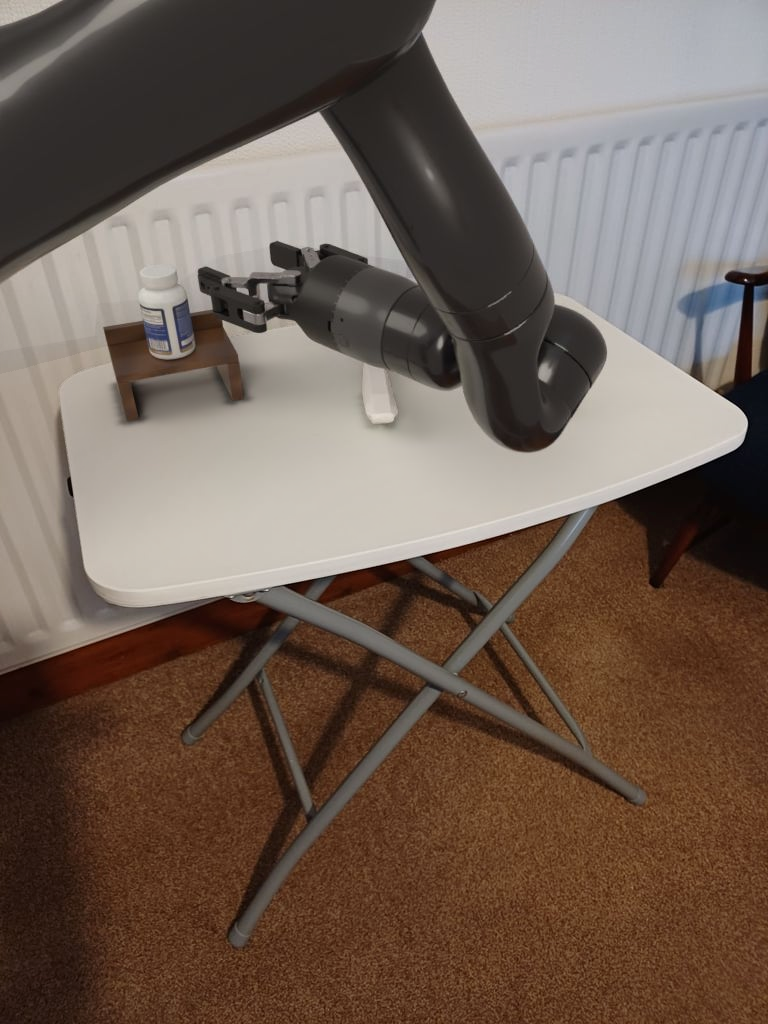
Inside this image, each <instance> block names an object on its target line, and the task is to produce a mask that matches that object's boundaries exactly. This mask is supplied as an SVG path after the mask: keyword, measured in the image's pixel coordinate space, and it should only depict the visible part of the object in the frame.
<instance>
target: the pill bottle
mask: <svg viewBox="0 0 768 1024" xmlns="http://www.w3.org/2000/svg"><path fill="white" fill-rule="evenodd" d="M139 277H140V283H141V286H142V288H141V289H140V290H139V292H138V294H137V295H138V296H137V298H138V304H139V309H140V314H141V318H142V319H141V320H142V321H143V323H144V328H145V332H146V337H147V342H148V346H149V350H150V353H151V354H152V355H153V356H154V357H156V358H159V359H178V358H182V357H185V356H187V355H189V354H191V353H192V352H193V351H194V349H195V339H194V333H193V327H192V321H191V316H190V313H191V310H190V305H189V298H188V293H187V290H186V288H185V287H184V286H183V285H181V284H180V283H178V282H179V276H178V271H177V268H176V267H175V266H174V265H172V264H167V263H156V264H150V265H147V266H145V267H143V268H142V269H141V270H140V271H139Z"/></svg>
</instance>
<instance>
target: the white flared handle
mask: <svg viewBox="0 0 768 1024" xmlns="http://www.w3.org/2000/svg"><path fill="white" fill-rule="evenodd" d="M361 394H362V401H363V407H364V410H365V415H366V417H367V418H368V419H369V420H370V422H371V423H372V424H373V425H379V424H380V425H381V424H390V423H393V422H394V420H395V418H396V416H397V415H398V414H399V410H398V406H397V405H398V404H397V402H396V400H395V396H394V392H393V388H392V383H391V381H390V377H389V374H388V370H386V369H382V368H378V367H374V366H371V365H368V364H366V363H363V362H362V378H361Z"/></svg>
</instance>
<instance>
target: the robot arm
mask: <svg viewBox="0 0 768 1024" xmlns="http://www.w3.org/2000/svg"><path fill="white" fill-rule="evenodd" d="M436 3H437V0H60V1H58V2H56V3H54V4H52V5H51V6H49V7H46V8H45V9H43V10H41V11H39V12H36V13H34V14H31V15H28V16H26V17H24V18H21V19H17V20H15V21H12V22H9V23H6V24H3V25H0V285H1V284H2V285H3V284H4V283H6V281H8V280H9V279H11V278H12V277H14V276H15V275H17V274H18V273H19V272H21V271H22V270H24V269H26V268H27V267H29V266H30V265H32V264H34V263H35V262H37V261H38V260H40V259H42V258H44V257H45V256H47V255H48V254H50V253H52V252H53V251H56V250H57V249H58V248H61V247H62V246H64V245H65V244H67V243H69V242H71V241H73V240H74V239H76V238H78V237H80V236H81V235H83V234H85V233H86V232H88V231H90V230H92V229H93V228H94V227H96V226H98V225H99V224H101V223H102V222H103V223H104V221H106V220H107V219H109V218H112V216H114V215H116V214H118V213H119V212H120V211H123V210H124V209H125V208H127V207H128V206H130V205H131V204H133V203H135V202H136V201H137V200H140V199H141V198H143V197H145V196H146V195H147V194H150V193H151V192H152V191H154V190H156V189H158V188H159V187H161V186H163V185H165V184H166V183H169V182H171V181H172V180H175V179H176V178H178V177H180V176H182V175H183V174H185V173H188V172H191V171H193V170H194V169H196V168H198V167H200V166H203V165H205V164H206V163H208V162H211V161H213V160H215V159H217V158H220V157H221V156H224V155H226V154H229V153H231V152H233V151H235V150H237V149H240V148H242V147H244V146H246V145H248V144H251V143H252V142H255V141H257V140H259V139H262V138H264V137H267V136H268V135H271V134H273V133H275V132H278V131H280V130H282V129H284V128H286V127H288V126H290V125H293V124H295V123H298V122H299V121H301V120H304V119H307V118H308V117H310V116H313V115H315V114H318V113H319V114H320V116H321V118H322V119H323V120H324V122H325V123H326V125H327V126H328V128H329V129H330V131H331V132H332V134H333V135H334V136H335V138H336V140H337V141H338V143H339V145H340V146H341V148H342V149H343V151H344V153H345V154H346V156H347V157H348V159H349V161H350V162H351V164H352V166H353V167H354V169H355V172H356V173H357V174H358V176H359V178H360V180H361V182H362V184H363V185H364V187H365V189H366V191H367V192H368V194H369V196H370V198H371V200H372V202H373V204H374V206H375V208H376V209H377V211H378V213H379V214H380V216H381V218H382V221H383V223H384V225H385V226H386V228H387V230H388V232H389V235H390V236H391V238H392V240H393V241H394V243H395V245H396V247H397V249H398V251H399V253H400V255H401V256H402V259H403V261H404V262H405V264H406V265H407V268H408V269H409V271H410V273H411V275H412V276H413V278H414V280H412V279H409V278H408V277H406V276H403V275H401V274H398V273H396V272H393V271H389V270H386V269H383V268H380V267H377V266H374V265H372V264H370V263H369V260H368V257H365V256H363V255H360V254H357V253H355V252H353V251H349V250H346V249H344V248H341V247H340V246H339V247H338V246H336V245H333V244H331V243H322V244H319V246H318V247H319V249H317V250H315V248H313V247H310V246H305V247H302V248H299V247H296V246H293V245H291V244H287V243H285V242H281V241H279V240H275V241H272V242H270V243H269V258H270V262H271V264H272V265H273V266H275V267H277V268H280V269H282V270H283V271H281V272H270V271H269V272H266V271H263V272H262V271H253V272H251V273H250V274H249V276H248V277H244V276H231V275H229V274H227V273H224V272H222V271H219V270H217V269H214V268H211V267H209V266H207V265H206V266H203V267H200V268H198V269H197V281H198V282H197V283H198V287H199V288H198V289H199V291H200V293H202V294H205V295H207V296H209V297H210V300H211V307H212V309H213V310H212V309H211V310H212V312H213V316H214V317H216V318H218V319H221V320H222V321H224V322H227V323H229V324H231V325H234V326H237V327H239V328H242V329H244V330H247V331H250V332H252V333H255V334H264V333H265V332H267V331H268V326H267V322H269V321H270V320H273V319H274V318H277V319H280V320H287V321H291V322H295V323H296V324H297V325H298V326H299V328H300V329H301V331H302V332H303V333H304V335H305V336H306V337H307V338H308V339H310V340H311V341H312V342H314V343H317V344H319V345H320V346H324V347H325V348H328V349H330V350H333V351H335V352H337V353H339V354H342V355H345V356H347V357H349V358H353V359H354V360H355V361H356V360H357V361H359V362H360V363H362V364H363V363H366V364H368V365H371V366H374V367H378V368H382V369H386V370H387V371H390V372H392V373H395V374H398V375H400V376H402V377H405V378H407V379H410V380H412V381H414V382H417V383H418V384H421V385H423V386H426V387H429V388H431V389H433V390H437V391H441V392H450V391H454V390H457V389H459V388H462V392H463V393H462V394H463V396H464V399H465V402H466V405H467V407H468V410H469V412H470V414H471V416H472V418H473V419H474V421H475V423H476V424H477V426H478V427H479V428H480V429H481V430H482V432H483V433H484V434H485V435H486V436H487V438H489V439H490V440H491V441H493V442H494V443H495V444H496V445H498V446H500V447H502V448H504V449H506V450H508V451H511V452H514V453H520V454H532V453H538V452H541V451H543V450H546V449H548V448H550V447H551V446H552V445H553V444H554V443H555V442H557V440H558V439H559V438H560V437H561V436H562V434H564V433H563V432H564V431H565V429H566V428H567V426H568V425H569V423H570V422H571V420H572V418H573V417H574V416H575V414H576V412H577V411H578V410H579V407H580V406H581V404H582V403H583V401H584V400H585V398H586V397H587V395H588V394H589V392H590V390H591V389H592V387H593V386H594V384H595V383H596V381H597V380H598V378H599V377H600V375H601V373H602V371H603V369H604V367H605V365H606V362H607V358H608V347H607V342H606V340H605V338H604V336H603V334H602V332H601V330H600V329H599V328H598V327H597V325H596V324H594V323H593V321H591V320H590V319H589V318H587V317H586V316H585V315H584V314H582V313H581V312H578V311H577V310H575V309H572V308H569V307H566V306H564V305H560V304H556V302H555V293H554V289H553V285H552V283H551V280H550V277H549V274H548V272H547V270H546V268H545V265H544V263H543V261H542V258H541V256H540V255H539V252H538V250H537V247H536V245H535V242H534V240H533V238H532V236H531V234H530V232H529V229H528V227H527V225H526V223H525V221H524V219H523V218H522V215H521V213H520V212H519V209H518V208H517V205H516V204H515V202H514V200H513V198H512V196H511V194H510V193H509V190H508V189H507V187H506V185H505V183H504V181H503V180H502V179H501V177H500V175H499V174H498V171H497V170H496V168H495V167H494V165H493V163H492V162H491V159H490V158H489V157H488V155H487V153H486V152H485V150H484V149H483V147H482V145H481V143H480V141H479V140H478V138H477V137H476V135H475V133H474V131H473V130H472V129H471V126H470V125H469V124H468V122H467V120H466V118H465V117H464V114H463V113H462V111H461V110H460V107H459V106H458V104H457V101H456V100H455V98H454V97H453V95H452V93H451V91H450V90H449V87H448V85H447V83H446V81H445V79H444V77H443V75H442V72H441V70H440V69H439V67H438V65H437V62H436V61H435V58H434V57H433V53H432V52H431V50H430V47H429V45H428V43H427V41H426V38H425V35H424V34H423V33H424V32H423V31H424V28H425V27H426V25H427V24H428V22H429V20H430V18H431V16H432V13H433V10H434V7H435V5H436ZM260 284H265V285H266V289H267V292H266V293H267V300H268V302H265V300H263V299H262V296H261V288H260ZM238 289H246V290H247V291H248V292H247V293H248V294H247V293H243V292H241V291H238Z"/></svg>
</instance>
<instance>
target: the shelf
mask: <svg viewBox="0 0 768 1024" xmlns="http://www.w3.org/2000/svg"><path fill="white" fill-rule="evenodd" d="M212 310H213V308H212V309H207V310H201V311H194V312H190V316H191V321H192V327H193V333H194V339H195V349H194V351H193V352H192V353H191V354H189V355H187V356H185V357H182V358H178V359H159V358H156V357H154V356H153V355H152V354H151V353H150V350H149V346H148V342H147V337H146V332H145V328H144V323H143V320H138V321H133V322H132V321H131V322H125V323H120V324H113V325H107V326H103V327H102V329H103V333H104V336H105V341H106V346H107V349H108V353H109V354H108V355H109V357H110V362H111V365H112V370H113V373H114V378H115V382H116V385H117V389H118V393H119V397H120V402H121V405H122V409H123V413H124V416H125V421H126V422H131V421H137V420H139V419H140V418H139V414H138V410H137V406H136V400H135V396H134V392H133V388H132V384H131V382H134V381H135V382H136V381H140V380H147V379H151V378H152V379H153V378H157V377H162V376H168V375H173V374H180V373H185V372H191V371H195V370H202V369H207V368H212V367H216V369H217V371H218V373H219V375H220V377H221V380H222V381H223V383H224V386H225V388H226V390H227V392H228V394H229V396H230V398H231V400H232V401H239V400H244V399H245V397H244V389H243V382H242V381H243V380H242V374H241V366H240V360H239V353H238V352H237V350H236V348H235V346H234V344H233V343H232V341H231V338H230V337H229V335H228V333H227V331H226V329H225V328H224V323H223V320H221V319H218V318H216V317H214V316H213V312H212Z"/></svg>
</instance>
